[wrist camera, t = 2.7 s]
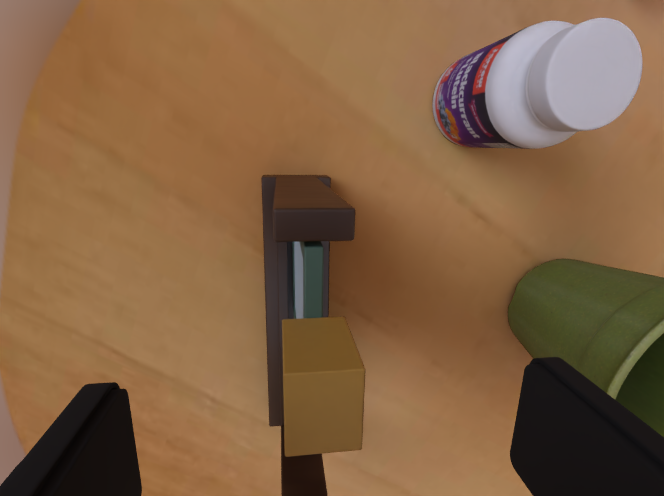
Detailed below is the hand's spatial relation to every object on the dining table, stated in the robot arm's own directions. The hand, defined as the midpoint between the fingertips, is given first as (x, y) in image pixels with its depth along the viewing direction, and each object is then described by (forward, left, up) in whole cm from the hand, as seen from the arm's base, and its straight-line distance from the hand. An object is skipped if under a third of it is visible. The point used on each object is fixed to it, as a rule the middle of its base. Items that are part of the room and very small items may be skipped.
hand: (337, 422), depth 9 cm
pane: (0, 0, -14) cm, 15 cm away
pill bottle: (+11, +9, -17) cm, 22 cm away
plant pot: (+19, -5, -17) cm, 26 cm away
